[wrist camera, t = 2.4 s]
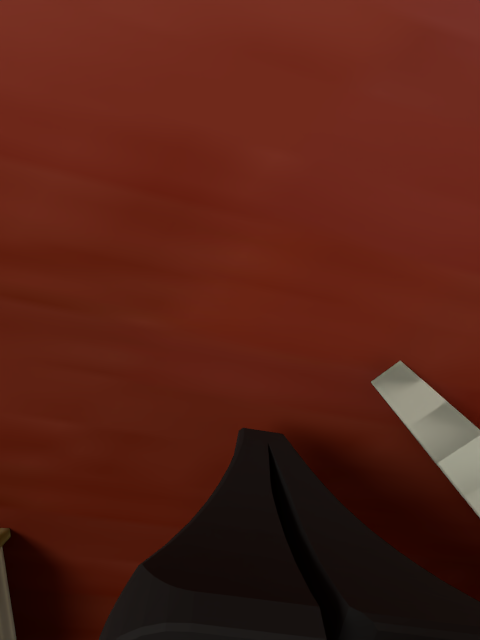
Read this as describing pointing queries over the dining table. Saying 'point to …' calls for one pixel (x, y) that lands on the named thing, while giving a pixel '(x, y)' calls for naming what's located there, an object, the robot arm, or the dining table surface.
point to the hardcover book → (5, 594)
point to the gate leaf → (436, 428)
